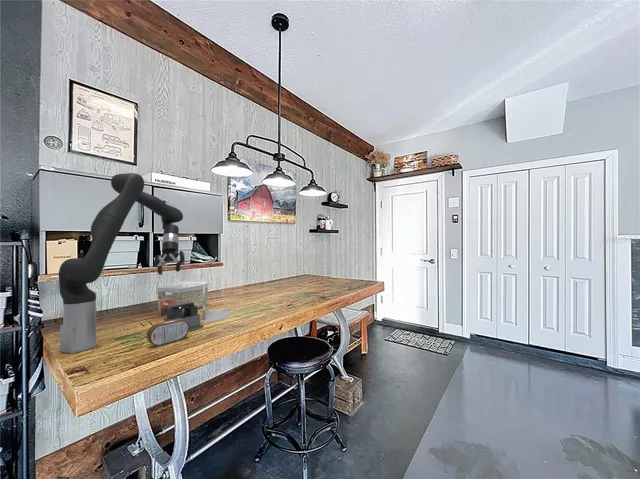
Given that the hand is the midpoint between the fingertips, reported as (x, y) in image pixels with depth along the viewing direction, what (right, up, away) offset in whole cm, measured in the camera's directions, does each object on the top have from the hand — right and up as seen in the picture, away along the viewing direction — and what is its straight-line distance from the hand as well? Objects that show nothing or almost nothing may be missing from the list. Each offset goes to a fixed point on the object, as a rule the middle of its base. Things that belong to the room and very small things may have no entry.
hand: (168, 272), depth 139 cm
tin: (+17, -24, -31) cm, 43 cm away
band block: (+15, -23, -16) cm, 32 cm away
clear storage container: (-3, -24, +21) cm, 32 cm away
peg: (+9, -19, -11) cm, 24 cm away
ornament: (+22, -24, +7) cm, 33 cm away
